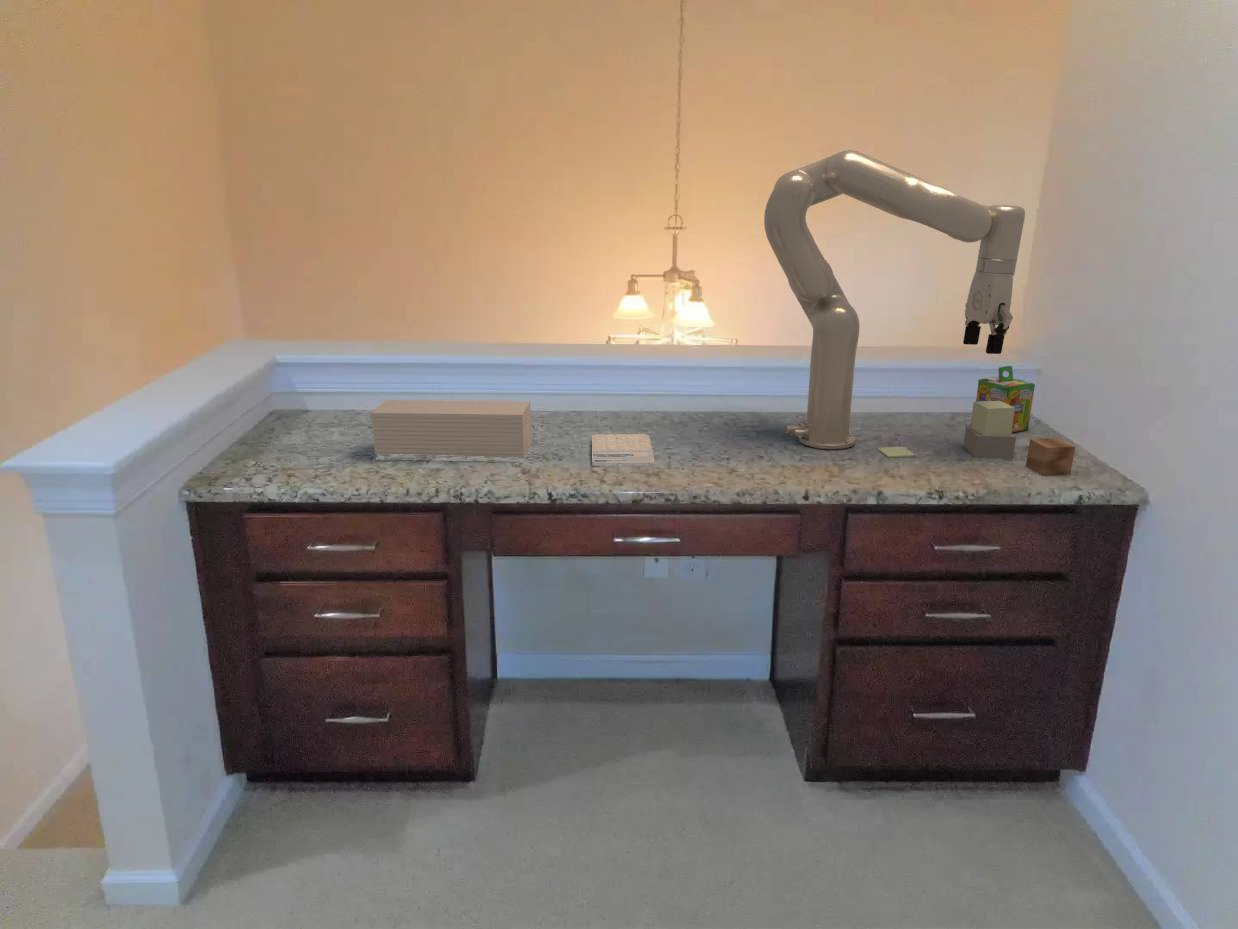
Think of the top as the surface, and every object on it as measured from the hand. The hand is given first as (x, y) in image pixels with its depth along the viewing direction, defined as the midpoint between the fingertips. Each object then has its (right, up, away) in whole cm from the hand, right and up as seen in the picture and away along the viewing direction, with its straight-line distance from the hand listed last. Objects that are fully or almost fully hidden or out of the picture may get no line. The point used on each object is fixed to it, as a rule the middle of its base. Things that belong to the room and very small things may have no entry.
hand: (981, 348), depth 184 cm
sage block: (+3, -18, +2) cm, 18 cm away
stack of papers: (-113, -23, +4) cm, 116 cm away
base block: (+3, -22, +4) cm, 23 cm away
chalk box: (+13, -16, +21) cm, 30 cm away
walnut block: (+10, -26, -8) cm, 29 cm away
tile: (-17, -22, +3) cm, 28 cm away
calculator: (-77, -23, +5) cm, 80 cm away
